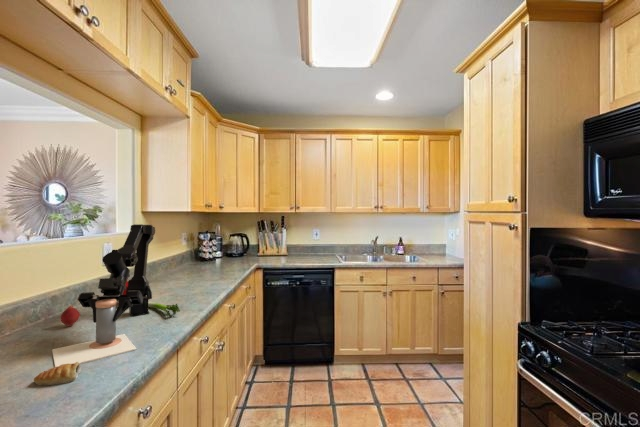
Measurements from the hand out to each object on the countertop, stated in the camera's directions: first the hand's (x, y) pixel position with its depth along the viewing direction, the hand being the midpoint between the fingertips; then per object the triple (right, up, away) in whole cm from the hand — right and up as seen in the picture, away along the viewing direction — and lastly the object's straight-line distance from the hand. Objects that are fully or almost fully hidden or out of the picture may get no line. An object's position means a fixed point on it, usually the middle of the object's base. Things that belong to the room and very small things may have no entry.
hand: (104, 321), depth 105 cm
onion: (-25, -8, +18) cm, 32 cm away
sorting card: (-1, -8, -3) cm, 9 cm away
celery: (-1, -9, +37) cm, 38 cm away
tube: (0, -7, +1) cm, 7 cm away
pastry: (+3, -8, -21) cm, 23 cm away
